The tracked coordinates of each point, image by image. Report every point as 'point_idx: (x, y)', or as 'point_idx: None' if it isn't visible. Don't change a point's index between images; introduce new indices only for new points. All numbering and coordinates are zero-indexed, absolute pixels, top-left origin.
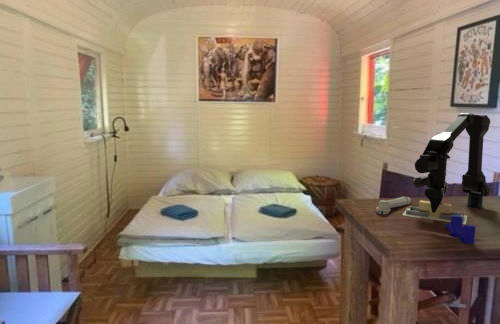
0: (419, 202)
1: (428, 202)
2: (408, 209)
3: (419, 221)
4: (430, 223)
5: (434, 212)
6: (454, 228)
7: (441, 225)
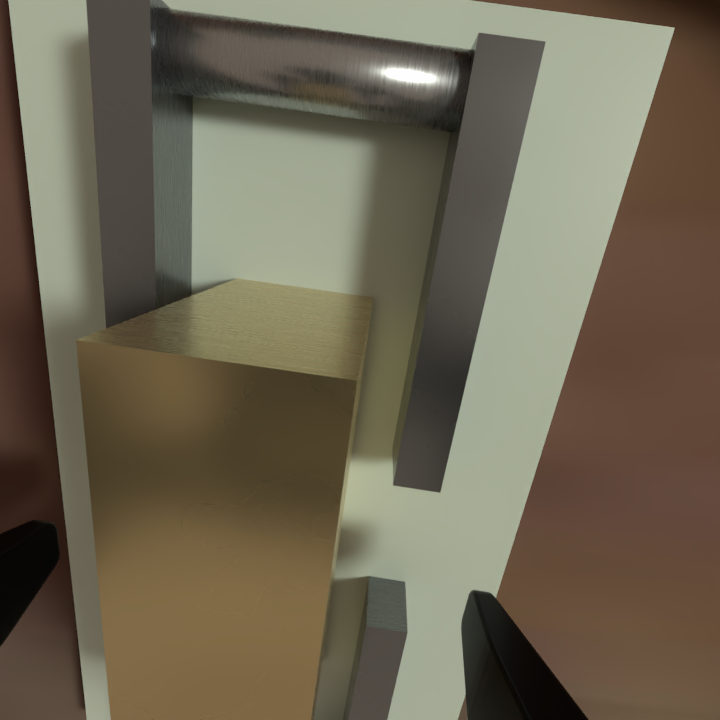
0: (84, 337)
1: (171, 584)
2: (215, 44)
3: (6, 286)
4: (8, 421)
5: (38, 553)
6: None
7: (10, 526)
